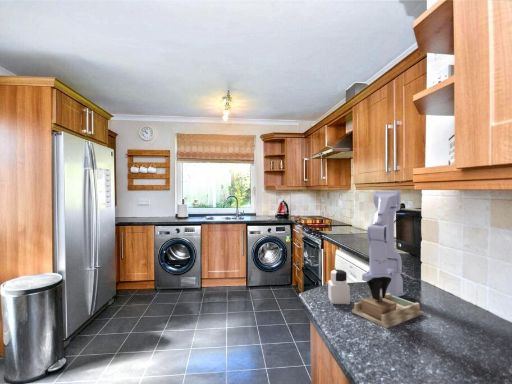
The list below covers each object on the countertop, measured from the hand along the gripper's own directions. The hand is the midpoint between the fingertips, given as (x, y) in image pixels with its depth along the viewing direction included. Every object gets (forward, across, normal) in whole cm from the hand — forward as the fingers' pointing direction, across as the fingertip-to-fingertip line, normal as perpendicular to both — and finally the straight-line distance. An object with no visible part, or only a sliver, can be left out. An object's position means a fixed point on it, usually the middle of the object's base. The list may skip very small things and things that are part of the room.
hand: (378, 298), depth 97 cm
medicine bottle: (+6, -2, +17) cm, 18 cm away
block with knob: (+5, 0, 0) cm, 5 cm away
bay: (+6, +4, 0) cm, 8 cm away
